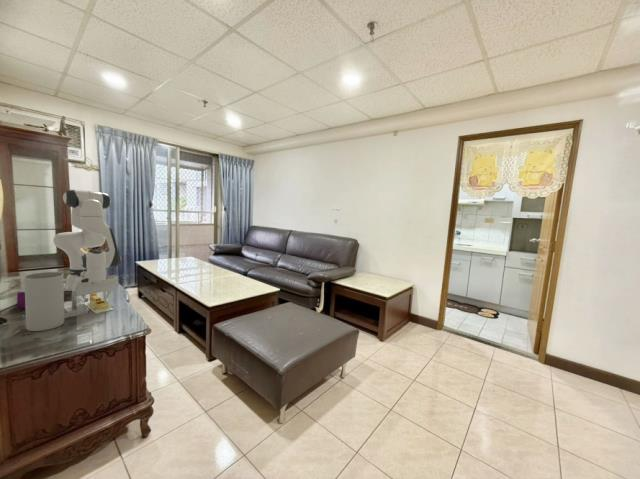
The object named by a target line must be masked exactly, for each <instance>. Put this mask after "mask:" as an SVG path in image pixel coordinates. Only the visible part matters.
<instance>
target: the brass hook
mask: <svg viewBox="0 0 640 479" xmlns="http://www.w3.org/2000/svg"><path fill="white" fill-rule="evenodd" d="M101 300H102V301H101ZM89 302H90V303H92V308H93V309H94V310H100V309H105V308H109V306H110V305H109V304H110V302H108V301H107V300H106V299H102V297H101V296H99V295H98V293H93V294H89Z"/></svg>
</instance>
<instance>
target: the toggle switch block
mask: <svg viewBox="0 0 640 479" xmlns="http://www.w3.org/2000/svg"><path fill="white" fill-rule="evenodd" d="M86 314H87V315H88V314H89V308H88V307H87V306H86V305H85V304H84V303H82V302H81V301H80V300H79V299H77V296H76V292H73V291H71V300H69V301H68V300H67V301H64V319H68V318H73V317H77V316H82V315H86Z"/></svg>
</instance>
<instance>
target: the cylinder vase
mask: <svg viewBox="0 0 640 479" xmlns="http://www.w3.org/2000/svg"><path fill="white" fill-rule="evenodd" d="M23 277H24V278H23V279H24V280H23V281H24V282H23V283H24V292H25V309H24V310H25V328H26V330H27V331H29V332H42V331H48V330H53V329H56V328H58V327H60V326H62V325H63V324H64V323H65V318H64V302H65V291H64V284H65V283H64V279H65V278H64V272H60V271H59V272H58V271H46V272H45V271H44V272H36V273H31V274H26V275H24V276H23Z"/></svg>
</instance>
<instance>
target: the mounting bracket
mask: <svg viewBox="0 0 640 479" xmlns="http://www.w3.org/2000/svg"><path fill="white" fill-rule="evenodd" d="M16 295H17V296H16V298H17V299H16V300H17V301H16V302H17V303H16V304H17V310H19V311H20V310H25V291H22V292H20V291H19V292H17V293H16Z"/></svg>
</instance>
